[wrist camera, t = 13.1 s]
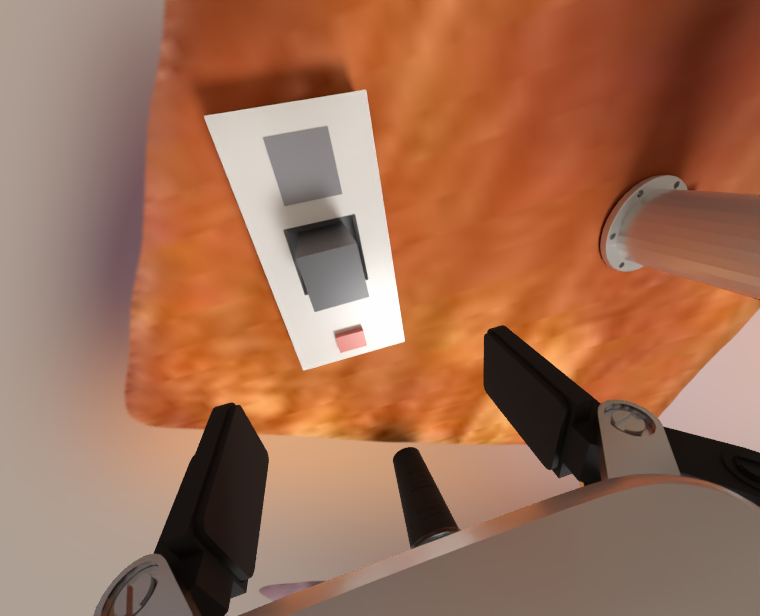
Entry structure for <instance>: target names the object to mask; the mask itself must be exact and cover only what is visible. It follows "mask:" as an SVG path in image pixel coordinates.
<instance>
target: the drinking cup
mask: <svg viewBox="0 0 760 616" xmlns="http://www.w3.org/2000/svg"><path fill="white" fill-rule="evenodd" d="M393 463H394V468H395V473H396V478H397V483H398V488H399V493H400V498H401V503H402V508H403V513H404V517H405V522H406V527H407V532H408V537H409V542H410V547H411V549H413V548H416V547H418V546H421V545H424V544H427V543H429V542H432V541H435V540H437V539H440V538H443V537H445V536H448V535H451V534H453V533H456V532H459V531H461V530H460V529H459V528H458V526H457V524H456V522H455V521H454V519H453V517H452V515H451V513H450V511H449V509H448V507H447V505H446V504H445V501H444V500H443V497H442V495H441V493H440V492H439V489H438V488H437V486H436V484H435V482H434V480H433V478H432V476H431V474H430V472H429V470H428V468H427V466H426V464H425V462H424V460H423V459H422V457H421V455H420V453H419V451H418V450H417V449H416V448H413V447H408V448H404V449H402V450H400V451H398V452H397V453H396V454H395V456H394V458H393Z"/></svg>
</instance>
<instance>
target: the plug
mask: <svg viewBox="0 0 760 616" xmlns="http://www.w3.org/2000/svg"><path fill="white" fill-rule="evenodd" d="M296 261H297V263H298V266H299V269H300V272H301V275H302V278H303V281H304V283H305V286H306V289H307V292H308V295H309V298H310V301H311V303H312V306H313V309H314V312H317V311H321V310H324V309H328V308H331V307H335V306H339V305H342V304H346V303H349V302H353V301H356V300H360V299H363V298H367V297H369V293H368V289H367V285H366V280H365V276H364V272H363V268H362V263H361V259H360V255H359V250H358V246H357V243H356V241H355V240H354V238H353V237H352V235H351V234H350V232H349V231H348V229H347V228H346V227H345V225H344V224H343V222H339V223H335V224H330V225H326V226H322V227H318V228H314V229H310V230H306V231H302V232H298V237H297V250H296Z"/></svg>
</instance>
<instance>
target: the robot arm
mask: <svg viewBox="0 0 760 616" xmlns="http://www.w3.org/2000/svg"><path fill="white" fill-rule="evenodd" d="M600 249H601V255H602V258H603V260H604V262H605V263H606V265H608V266H609V267H611V268H613V269H616V270H619V271H624V272H626V271H633V270H637V269H639V268H642V267H644V266H646V267H650V268H653V269H657V270H660V271H663V272H667V273H670V274H673V275H677V276H680V277H684V278H687V279H690V280H694V281H697V282H701V283H704V284H707V285H711V286H714V287H718V288H721V289H724V290H728V291H731V292H735V293H738V294H741V295H745V296H748V297H751V298H755V299H758V300H760V195H755V194H740V193H724V192H709V191H693V190H688V189H687V187H686V184H685V183H684V182H683V181H682V179H680V178H678V177H676V176H671V175H657V176H653V177H650V178H647V179H645V180H643V181H641V182H640V183H638V184H637V185H635V186H634V187H633V188H632V189H630V190H629V191H628V192H627V193H626V194H625V195H624V196H623V197H622V198H621V199H620V200H619V202H618V203H617V204H616V206H615V207H614V209H613V210H612V212H611V213H610V215H609V217H608V219H607V221H606V223H605V226H604V228H603V232H602V236H601V243H600ZM484 388H485V391H486V393H487V394H488V395H489V397H490V398H491V399H492V400H493V402H494V403H495V404H496V406H497V407H498V408H499V409H500V411H501V412H502V413H503V414H504V416H505V417H506V418H507V419H508V421H509V422H510V423H511V425H512V426H513V427H514V428H515V430H516V431H517V432H518V433H519V435H520V436H521V437H522V439H523V440H524V441H525V442H526V444H527V445H528V446H529V447H530V449H531V450H532V451H533V453H534V454H535V455H536V456H537V458H538V459H539V460H540V461H541V463H542V464H543V465H544V466H545V467H546V468H547V469H548V470H553V472H554V473H555V474H556V475H557V477H558V478H561V477H564V476H567V475H569V474H573V475H574V476H575V477H576V478H577V480H578V481H580V488H578V489H575V490H573V491H569V492H566V493H564V494H561V495H558V496H555V497H552V498H549V499H546V500H543V501H540V502H538V503H535V504H532V505H530V506H527V507H524V508H521V509H519V510H516V511H513V512H511V513H508V514H505V515H503V516H500V517H497V518H494V519H491V520H489V521H486V522H483V523H480V524H478V525H475V526H472V527H470V528H467V529H464V530H461V531H459V532H456V533H453V534H451V535H448V536H445V537H443V538H440V539H437V540H435V541H432V542H429V543H427V544H424V545H421V546H418V547H416V548H413V549H410V550H408V551H405V552H402V553H400V554H397V555H395V556H392V557H389V558H386V559H384V560H381V561H379V562H376V563H373V564H371V565H368V566H365V567H362V568H360V569H357V570H355V571H352V572H350V573H347V574H344V575H341V576H339V577H336V578H333V579H331V580H328V581H326V582H323V583H320V584H318V585H315V586H312V587H310V588H307V589H304V590H302V591H299V592H297V593H294V594H291V595H289V596H286V597H284V598H281V599H279V600H276V601H274V602H271V603H269V604H266V605H264V606H261V607H259V608H256V609H254V610H252V611H249V612H246V613H244V614H241V615H239V616H760V453H759V452H756V451H752V450H750V449H746V448H743V447H739V446H736V445H731V444H728V443H724V442H720V441H716V440H713V439H709V438H704V437H701V436H697V435H693V434H689V433H686V432H682V431H678V430H674V429H670V428H666V427H663V426H662V424H661V422H660V420H659V419H658V418H657V417H656V416H655V415H654V414H653V413H651V412H650V411H648V410H647V409H645V408H644V407H641V406H639V405H637V404H635V403H632V402H628V401H624V400H607V401H605V402H603V403H601V404H600V403H599V402H598V401H597V400H596V399H594V398H593V397H592V396H591V395H589V394H588V393H587V392H586V391H584V390H583V389H582V388H581V387H580V386H578V385H577V384H576V383H575V382H573V381H572V380H571V379H570V378H569V377H567V376H566V375H565V374H564V373H562V372H561V371H560V370H559V369H557V368H556V367H555V366H554V365H553V364H551V363H550V362H549V361H548V360H546V359H545V358H544V357H543V356H541V355H540V354H539V353H538V352H536V351H535V350H534V349H533V348H531V347H530V346H529V345H528V344H527V343H525V342H524V341H523V340H522V339H520V338H519V337H518V336H517V335H516V334H514V333H513V332H512V331H511V330H509V329H508V328H507V327H506V326H503V325H502V326H498V327H495V328H491V329H489V330H488V331H487V334H485V335H484ZM268 463H269V457H268V453H267V451H266V449H265V447H264V445H263V444H262V442H261V440H260V438H259V437H258V435H257V433H256V431H255V430H254V428H253V426H252V425H251V423H250V421H249V419H248V418H247V416H246V414H245V412H244V411H243V409H242V407H241V406H240V405H235V404H234V403H228V404H224V405H221V406H217V407H215V408H213V410H212V412H211V415H210V417H209V420H208V423H207V425H206V428H205V430H204V433H203V435H202V438H201V441H200V443H199V446H198V448H197V451H196V454H195V455H194V456H193V457H192V459H191V461H190V463H189V466H188V468H187V471H186V473H185V476H184V478H183V481H182V483H181V486H180V488H179V491H178V493H177V496H176V498H175V501H174V503H173V506H172V508H171V511H170V514H169V516H168V519H167V521H166V524H165V526H164V529H163V531H162V534H161V536H160V539H159V541H158V544H157V546H156V549H155V551H154V554H150V555H146V556H143V557H142V558H140V559H138V560H136V561H134V562H133V563H132V564H131V565H129V566H128V567H127V568H125V569H124V570H123V571H122V572H121V573H120V574H119V575H118V576H117V577H116V578H115V580H113V582H112V583H111V584H110V586H109V587H108V588H107V590H106V591H105V593H104V594H103V596H102V597H101V599H100V601H99V603H98V605H97V607H96V610H95V613H94V616H228V615H227V612H228V609H229V603H230V598H233V597H236V596H238V595H241V594H244V593H246V590H247V583H248V579H249V578H251V577H252V576H253V573H254V569H255V562H256V554H257V546H258V538H259V531H260V524H261V515H262V509H263V501H264V493H265V485H266V478H267V471H268Z"/></svg>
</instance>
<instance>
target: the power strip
mask: <svg viewBox="0 0 760 616" xmlns="http://www.w3.org/2000/svg"><path fill="white" fill-rule="evenodd" d="M204 118H205V121H206V124H207V126H208V129H209V131H210V134H211V136H212V139H213V141H214V144H215V146H216V149H217V152H218V154H219V157H220V159H221V162H222V164H223V167H224V169H225V172H226V175H227V177H228V180H229V182H230V185H231V187H232V190H233V192H234V195H235V197H236V200H237V203H238V205H239V208H240V210H241V213H242V215H243V218H244V220H245V223H246V226H247V228H248V231H249V233H250V236H251V238H252V241H253V243H254V246H255V248H256V251H257V254H258V256H259V259H260V261H261V264H262V266H263V269H264V271H265V274H266V277H267V279H268V282H269V284H270V287H271V289H272V292H273V294H274V297H275V300H276V302H277V305H278V307H279V310H280V312H281V315H282V317H283V320H284V322H285V325H286V328H287V330H288V333H289V335H290V338H291V340H292V343H293V345H294V348H295V351H296V353H297V356H298V358H299V361H300V363H301V366H302V368H303V371H304V370H308V369H311V368H315V367H318V366H321V365H325V364H328V363H332V362H335V361H339V360H342V359H346V358H349V357H353V356H356V355H360V354H363V353H367V352H370V351H374V350H377V349H381V348H384V347H387V346H391V345H394V344H398V343H401V342H405V339H404V332H403V326H402V319H401V313H400V306H399V300H398V293H397V287H396V280H395V274H394V267H393V261H392V255H391V248H390V242H389V235H388V229H387V222H386V216H385V209H384V203H383V196H382V190H381V183H380V177H379V170H378V164H377V157H376V151H375V144H374V138H373V131H372V125H371V118H370V112H369V105H368V99H367V92H366V90H361V91H354V92H348V93H342V94H336V95H330V96H324V97H318V98H311V99H305V100H299V101H293V102H287V103H281V104H274V105H268V106H262V107H256V108H250V109H244V110H237V111H231V112H225V113H219V114H213V115H207V116H204ZM339 222H343V224H344V225H345V227H346V228H347V229H348V231H349V232H350V234H351V235H352V237H353V238H354V240H355V241H356V243H357V246H358V250H359V255H360V259H361V263H362V268H363V272H364V276H365V280H366V285H367V289H368V293H369V297H367V298H363V299H360V300H356V301H353V302H349V303H346V304H342V305H339V306H335V307H331V308H328V309H324V310H321V311H317V312H314V309H313V306H312V303H311V301H310V298H309V295H308V292H307V289H306V286H305V283H304V281H303V278H302V275H301V272H300V269H299V266H298V263H297V261H296V250H297V237H298V232H302V231H306V230H310V229H314V228H318V227H322V226H326V225H330V224H335V223H339Z"/></svg>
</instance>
